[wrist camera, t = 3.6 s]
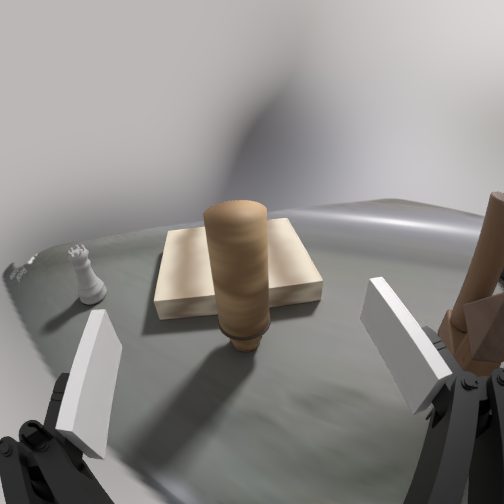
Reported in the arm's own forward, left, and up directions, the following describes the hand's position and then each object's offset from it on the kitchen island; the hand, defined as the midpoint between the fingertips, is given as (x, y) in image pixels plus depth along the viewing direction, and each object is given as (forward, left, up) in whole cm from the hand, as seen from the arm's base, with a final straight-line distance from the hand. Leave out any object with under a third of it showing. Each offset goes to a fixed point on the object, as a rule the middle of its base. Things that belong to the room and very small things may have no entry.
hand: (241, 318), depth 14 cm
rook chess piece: (+20, -22, -15) cm, 33 cm away
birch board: (-1, -25, -14) cm, 29 cm away
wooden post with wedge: (-22, -1, -15) cm, 26 cm away
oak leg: (-1, -11, -14) cm, 18 cm away
